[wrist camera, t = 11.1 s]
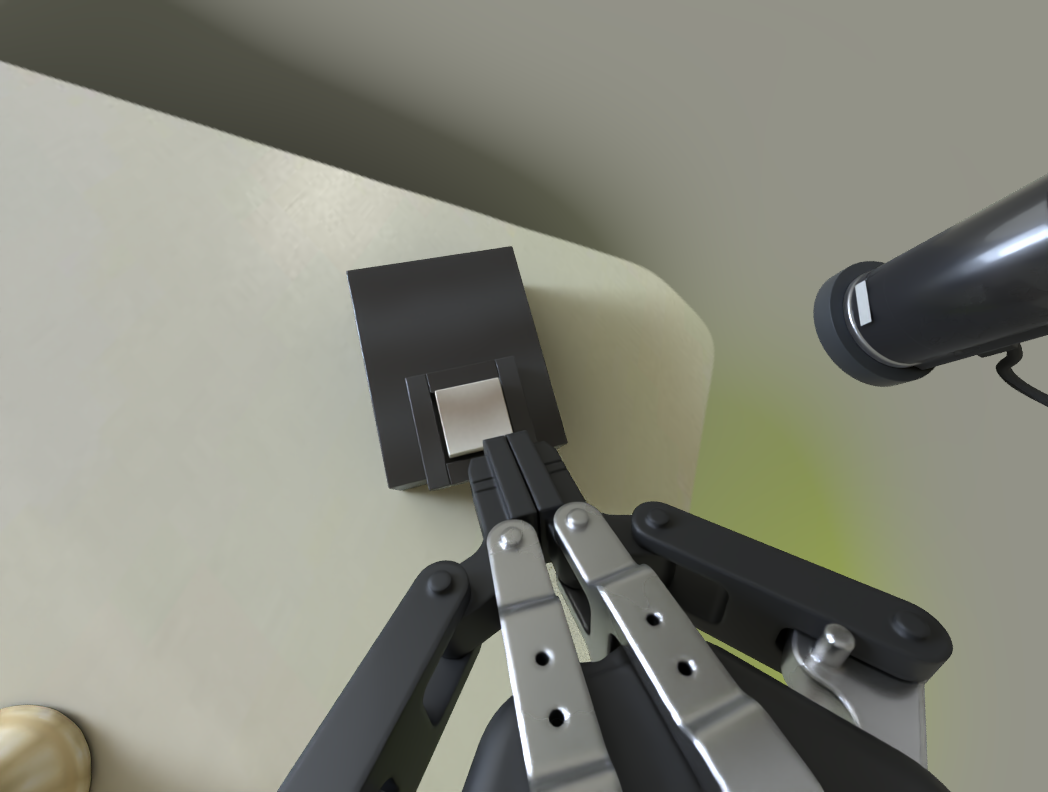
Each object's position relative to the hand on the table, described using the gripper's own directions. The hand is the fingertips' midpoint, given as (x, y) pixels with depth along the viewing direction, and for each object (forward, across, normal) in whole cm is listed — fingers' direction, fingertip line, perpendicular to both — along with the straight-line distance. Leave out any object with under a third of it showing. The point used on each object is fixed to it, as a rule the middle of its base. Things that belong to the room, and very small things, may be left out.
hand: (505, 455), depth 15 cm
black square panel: (+17, 0, +6) cm, 18 cm away
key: (+9, 0, +5) cm, 11 cm away
